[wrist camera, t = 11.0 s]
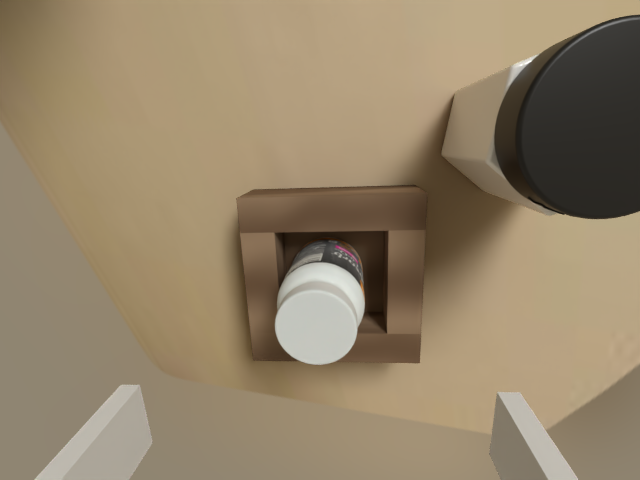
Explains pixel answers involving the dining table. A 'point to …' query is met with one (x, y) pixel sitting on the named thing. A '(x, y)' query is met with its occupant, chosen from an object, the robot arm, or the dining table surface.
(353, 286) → the pill bottle
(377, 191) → the socket block
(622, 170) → the jar
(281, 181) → the dining table surface
